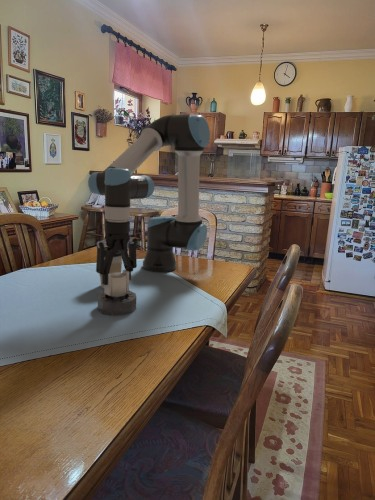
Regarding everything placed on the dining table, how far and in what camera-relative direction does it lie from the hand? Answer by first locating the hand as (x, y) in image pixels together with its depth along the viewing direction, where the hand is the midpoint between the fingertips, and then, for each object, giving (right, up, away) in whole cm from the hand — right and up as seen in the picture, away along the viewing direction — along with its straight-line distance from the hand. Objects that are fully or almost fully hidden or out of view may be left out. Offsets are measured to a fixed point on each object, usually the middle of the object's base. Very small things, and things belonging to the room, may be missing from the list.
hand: (116, 291), depth 113 cm
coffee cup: (-7, 0, +21) cm, 22 cm away
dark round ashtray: (0, -5, +1) cm, 5 cm away
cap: (0, -1, 0) cm, 0 cm away
